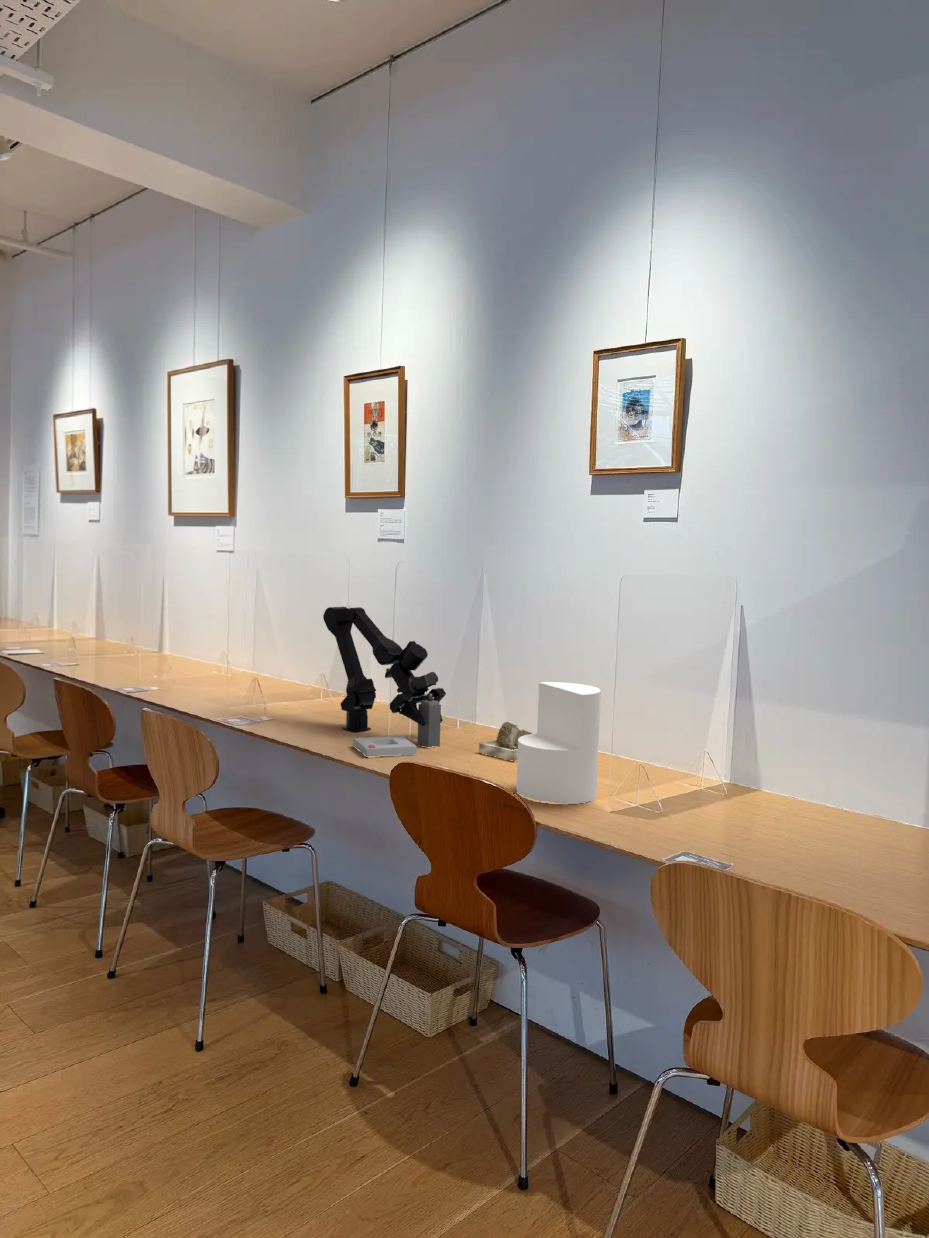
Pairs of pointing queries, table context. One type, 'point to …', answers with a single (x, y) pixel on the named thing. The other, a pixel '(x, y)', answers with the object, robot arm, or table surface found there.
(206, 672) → the table surface
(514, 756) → the tray
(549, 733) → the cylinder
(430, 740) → the plug
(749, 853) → the table surface
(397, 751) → the socket
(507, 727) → the toy
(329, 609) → the robot arm
